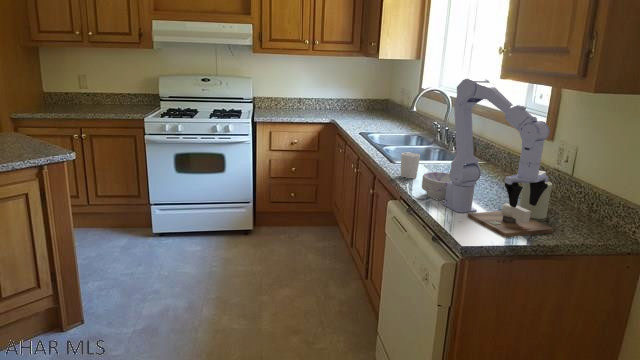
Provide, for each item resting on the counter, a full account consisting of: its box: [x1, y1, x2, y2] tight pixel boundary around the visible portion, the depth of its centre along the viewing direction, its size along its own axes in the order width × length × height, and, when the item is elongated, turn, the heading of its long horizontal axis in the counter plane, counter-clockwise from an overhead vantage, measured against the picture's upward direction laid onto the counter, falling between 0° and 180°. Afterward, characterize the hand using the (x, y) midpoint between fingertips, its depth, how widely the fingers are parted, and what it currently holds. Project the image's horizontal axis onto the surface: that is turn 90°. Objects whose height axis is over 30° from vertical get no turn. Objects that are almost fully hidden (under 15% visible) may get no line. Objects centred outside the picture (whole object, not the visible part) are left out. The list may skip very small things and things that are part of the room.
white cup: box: [400, 151, 421, 179], centre depth 203 cm, size 8×8×10 cm
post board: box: [467, 210, 554, 238], centre depth 150 cm, size 18×18×3 cm
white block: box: [501, 202, 531, 223], centre depth 147 cm, size 10×5×4 cm, turn 19°
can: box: [518, 181, 553, 220], centre depth 161 cm, size 9×9×12 cm
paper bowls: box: [421, 171, 451, 202], centre depth 176 cm, size 15×15×8 cm
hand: (522, 205), depth 145 cm, fingers open, 7 cm apart
